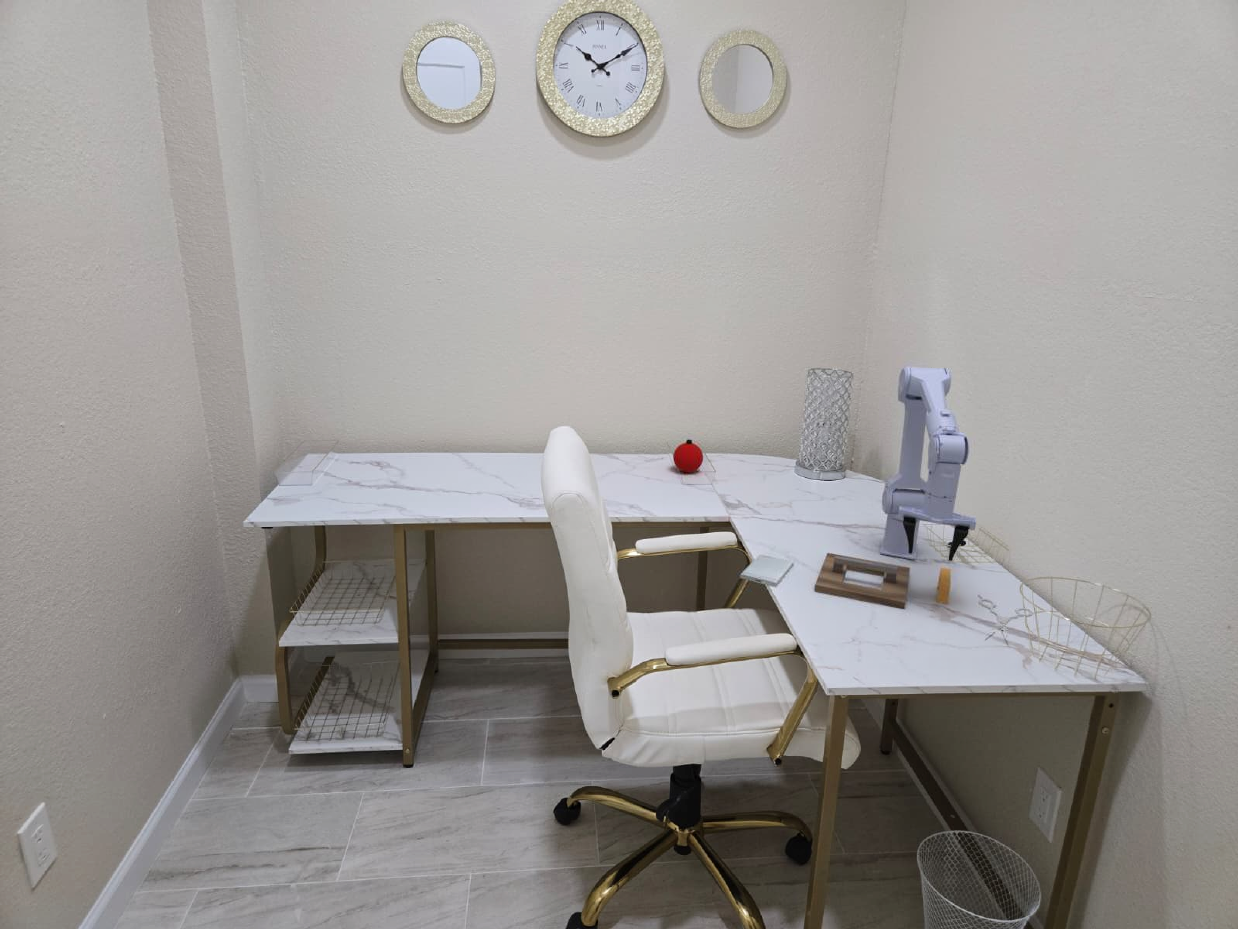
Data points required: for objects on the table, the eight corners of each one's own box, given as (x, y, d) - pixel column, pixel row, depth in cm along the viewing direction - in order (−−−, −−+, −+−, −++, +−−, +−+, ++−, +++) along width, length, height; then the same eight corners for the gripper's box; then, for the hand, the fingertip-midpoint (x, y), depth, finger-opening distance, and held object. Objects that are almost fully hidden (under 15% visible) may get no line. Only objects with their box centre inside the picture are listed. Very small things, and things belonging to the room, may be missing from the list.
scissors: (1033, 607, 162) (1028, 650, 146) (1033, 610, 163) (1027, 653, 146) (978, 593, 167) (966, 633, 151) (977, 597, 168) (965, 637, 151)
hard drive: (759, 553, 182) (740, 573, 171) (794, 561, 178) (776, 582, 167) (758, 560, 182) (739, 580, 172) (793, 568, 178) (776, 589, 168)
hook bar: (833, 568, 174) (835, 555, 173) (895, 580, 170) (897, 566, 169) (832, 572, 172) (834, 558, 171) (895, 583, 168) (897, 570, 167)
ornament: (694, 478, 234) (696, 445, 231) (667, 472, 238) (669, 440, 235) (707, 470, 242) (709, 438, 238) (680, 465, 246) (682, 434, 243)
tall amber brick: (937, 586, 171) (940, 567, 169) (947, 588, 170) (950, 569, 168) (936, 602, 163) (940, 582, 162) (947, 604, 163) (950, 584, 161)
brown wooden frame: (826, 558, 182) (827, 552, 182) (909, 573, 176) (910, 567, 176) (814, 591, 167) (815, 584, 166) (904, 609, 160) (905, 602, 160)
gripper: (901, 493, 157) (891, 556, 162) (980, 505, 152) (968, 570, 156) (903, 482, 164) (894, 543, 168) (980, 494, 158) (968, 556, 163)
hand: (930, 555), depth 162 cm, fingers open, 7 cm apart
